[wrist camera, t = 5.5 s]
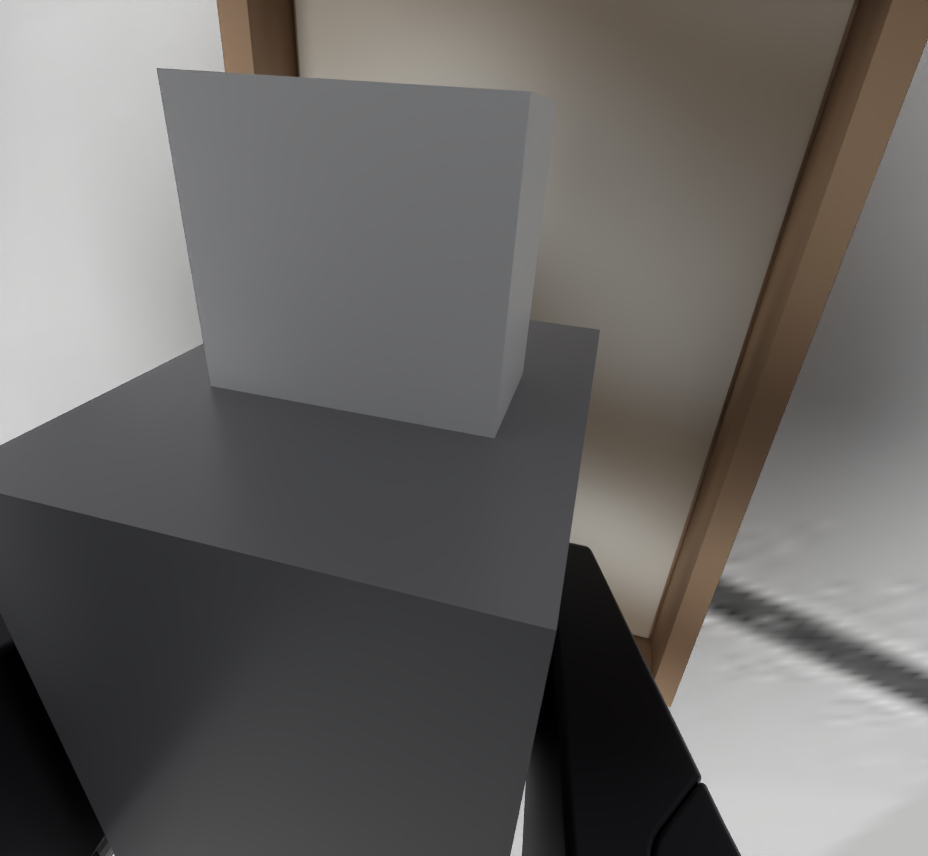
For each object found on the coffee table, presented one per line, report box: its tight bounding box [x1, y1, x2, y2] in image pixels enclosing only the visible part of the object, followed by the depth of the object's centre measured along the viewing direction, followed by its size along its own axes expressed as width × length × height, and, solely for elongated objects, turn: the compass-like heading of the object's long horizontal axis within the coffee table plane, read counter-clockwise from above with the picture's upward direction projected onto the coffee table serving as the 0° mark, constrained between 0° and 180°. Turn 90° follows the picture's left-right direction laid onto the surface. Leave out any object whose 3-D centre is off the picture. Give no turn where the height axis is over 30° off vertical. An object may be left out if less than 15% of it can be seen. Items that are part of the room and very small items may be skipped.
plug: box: [0, 68, 600, 856], centre depth 7 cm, size 10×4×5 cm, turn 176°
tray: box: [217, 0, 928, 707], centre depth 13 cm, size 16×11×2 cm
